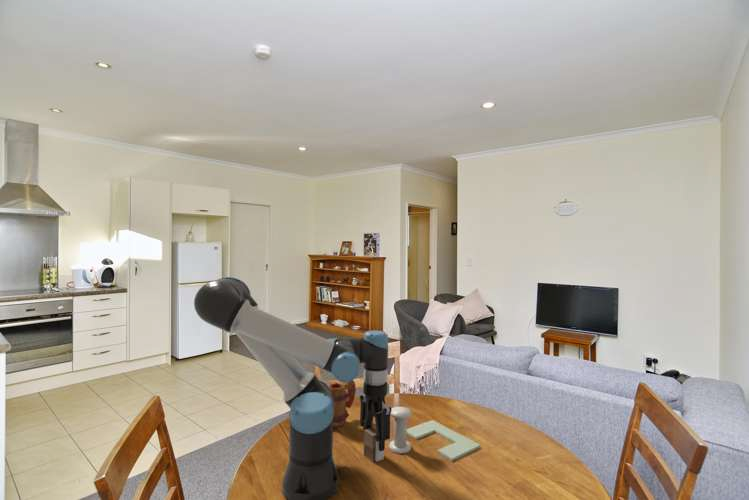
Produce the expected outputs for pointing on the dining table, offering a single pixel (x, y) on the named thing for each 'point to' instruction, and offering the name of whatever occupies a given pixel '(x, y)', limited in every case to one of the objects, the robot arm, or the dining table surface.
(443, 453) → the notched board
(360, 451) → the dining table surface
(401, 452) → the knob
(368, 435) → the block
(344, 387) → the mug
